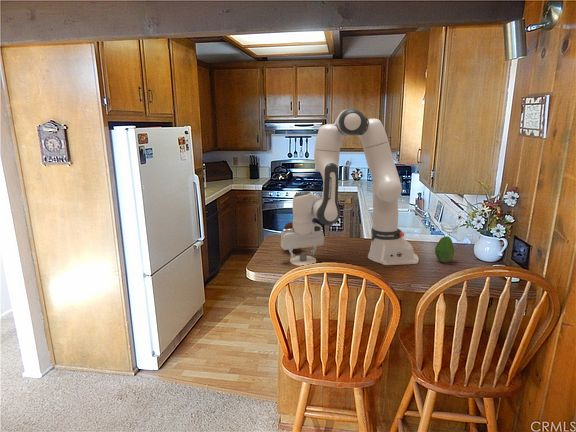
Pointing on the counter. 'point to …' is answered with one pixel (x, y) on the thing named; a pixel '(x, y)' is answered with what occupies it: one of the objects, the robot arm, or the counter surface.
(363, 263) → the counter surface
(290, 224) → the ice cream bowl
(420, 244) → the counter surface
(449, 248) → the avocado
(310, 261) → the lid
